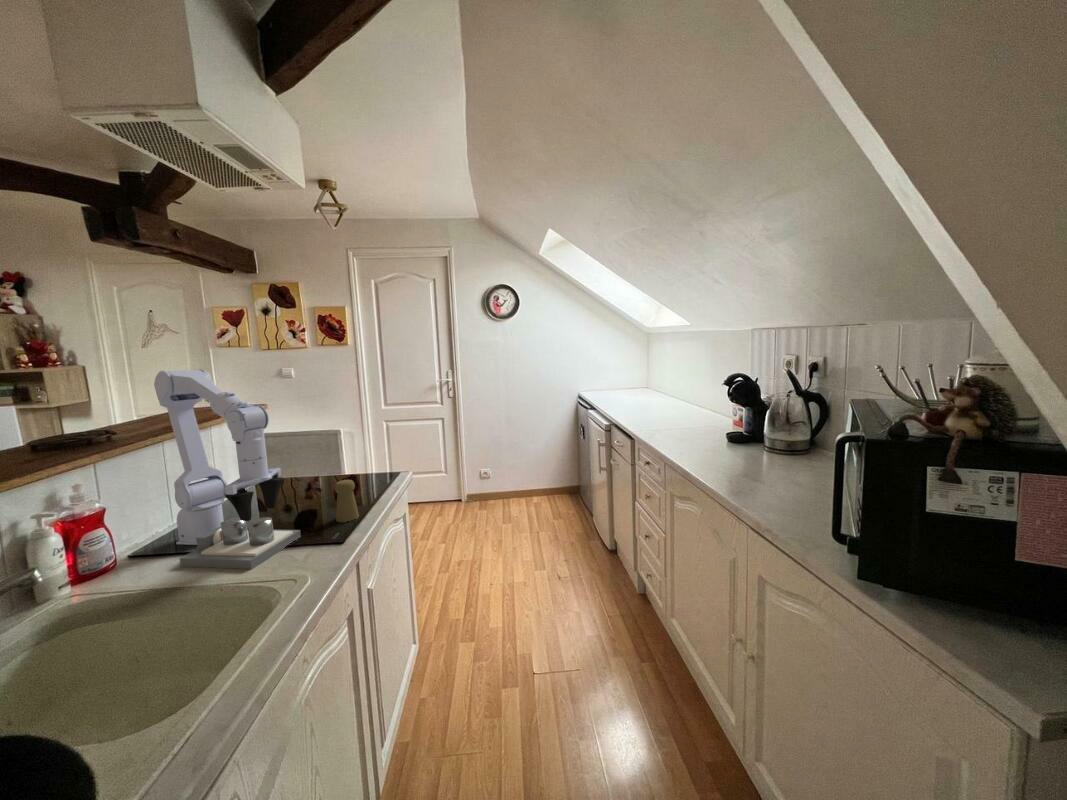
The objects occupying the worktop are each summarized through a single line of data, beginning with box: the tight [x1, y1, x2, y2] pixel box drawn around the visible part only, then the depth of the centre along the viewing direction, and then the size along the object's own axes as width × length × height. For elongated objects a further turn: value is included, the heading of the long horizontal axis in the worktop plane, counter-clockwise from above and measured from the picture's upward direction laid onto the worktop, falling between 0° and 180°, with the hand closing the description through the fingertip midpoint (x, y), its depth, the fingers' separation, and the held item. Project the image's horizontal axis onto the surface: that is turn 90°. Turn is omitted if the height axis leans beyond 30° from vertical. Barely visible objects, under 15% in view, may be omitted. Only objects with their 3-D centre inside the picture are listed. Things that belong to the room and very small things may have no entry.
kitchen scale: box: [179, 526, 302, 570], centre depth 102 cm, size 18×16×6 cm
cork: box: [334, 479, 360, 523], centre depth 121 cm, size 6×6×11 cm
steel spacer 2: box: [246, 516, 274, 546], centre depth 101 cm, size 5×5×5 cm
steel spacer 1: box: [221, 516, 248, 545], centre depth 102 cm, size 5×5×5 cm
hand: (258, 514), depth 101 cm, fingers open, 7 cm apart
